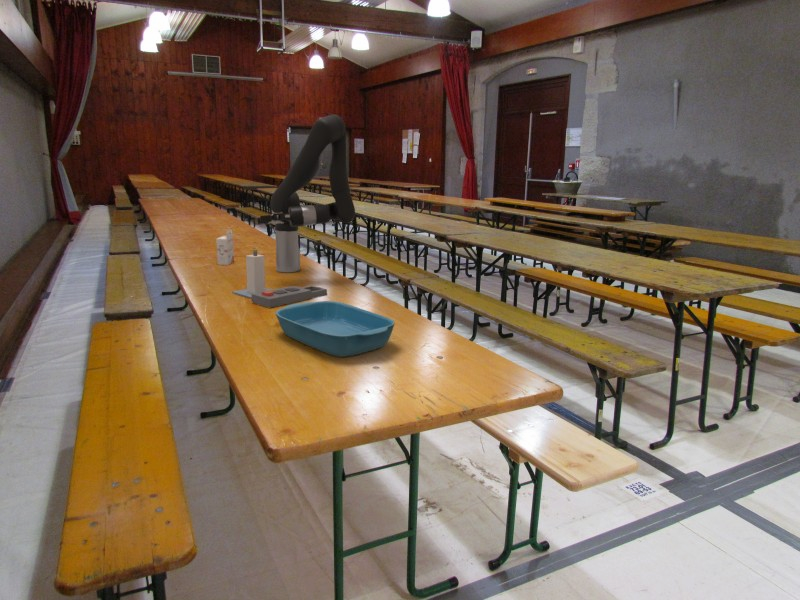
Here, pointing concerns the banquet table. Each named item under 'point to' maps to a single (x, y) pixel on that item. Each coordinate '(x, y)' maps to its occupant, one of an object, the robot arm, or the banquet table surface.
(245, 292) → the rubber mat
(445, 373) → the banquet table surface
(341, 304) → the casserole dish
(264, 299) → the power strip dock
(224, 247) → the ink cartridge box
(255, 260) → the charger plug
